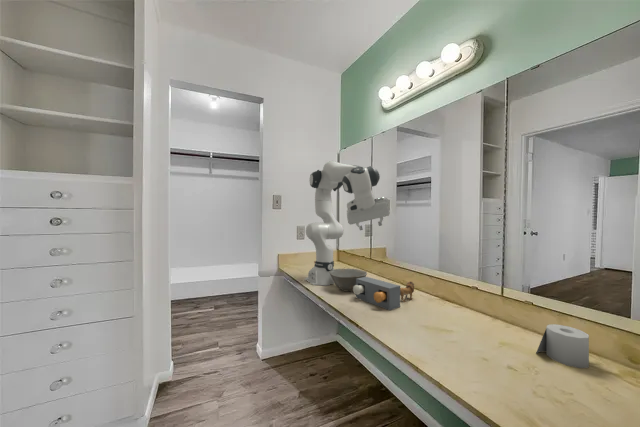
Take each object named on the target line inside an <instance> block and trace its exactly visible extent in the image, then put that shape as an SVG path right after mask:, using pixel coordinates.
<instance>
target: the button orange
mask: <svg viewBox="0 0 640 427" xmlns="http://www.w3.org/2000/svg"><path fill="white" fill-rule="evenodd" d="M386 299H387V293H386V292H384V291H382V292H375V293H374V300H375V301H376V302H377V303H380V302H382V301H384V300H386Z"/></svg>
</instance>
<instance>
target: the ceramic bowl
mask: <svg viewBox="0 0 640 427" xmlns="http://www.w3.org/2000/svg"><path fill="white" fill-rule="evenodd" d="M329 273H330V275H331V277H332V279H333V281H334V283H335V284H334V285H335V286H336V287H337V288H338V289H340V290H342V291H343V292H354V291H353V287H354V286H355V285H356V279H357V278H362V277H367V274H368V273H367V271H365V270H362V269H358V268H334V270H331V271H329Z"/></svg>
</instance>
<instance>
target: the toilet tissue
mask: <svg viewBox="0 0 640 427" xmlns="http://www.w3.org/2000/svg"><path fill="white" fill-rule="evenodd" d="M589 340H590V335H589V334H588V333H586V332H585V331H583V330H580V329H579V328H574V327H573V326H572V327H571V326H569V325H562V324H555V323H554V324H547V325H546V328H545V330H544V333H543V335H542V337H541V340H540V342H539V345H538V347H537V350H536V352H535V354H539V353H540V352H546V356H548V357H549V358H550V359H552V360H553V361H555V362H558V363H560V364H562V365H564V364H565V366H569V367H572V366H573V367H572V368H577V369H588V368H589V366H590V364H589V363H590V343H589V342H590V341H589Z"/></svg>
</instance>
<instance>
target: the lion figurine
mask: <svg viewBox="0 0 640 427" xmlns="http://www.w3.org/2000/svg"><path fill="white" fill-rule="evenodd" d="M405 284H406V286H405V287H400V301H402V302H403V303H405V302H406V300H407V299H409V300H410V301H413V300H414V299H413V294H414V292H415V283H414V282H413V281H412V280H408V281H407V282H406V283H405ZM408 295H409V298H408ZM404 296H405V299H406V300H404Z"/></svg>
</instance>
